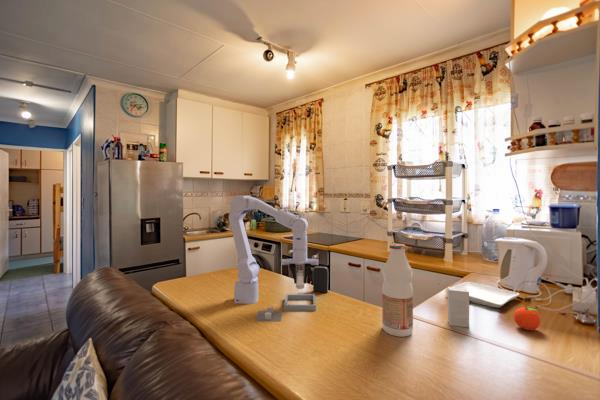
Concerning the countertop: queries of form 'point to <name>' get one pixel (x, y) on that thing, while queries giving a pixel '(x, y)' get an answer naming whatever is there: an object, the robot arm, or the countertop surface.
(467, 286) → the salad plate
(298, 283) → the cylinder
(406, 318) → the fruit juice
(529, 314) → the red tomato
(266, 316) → the plate
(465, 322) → the skincare box
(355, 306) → the countertop surface
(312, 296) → the parts tray
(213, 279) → the countertop surface
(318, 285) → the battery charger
